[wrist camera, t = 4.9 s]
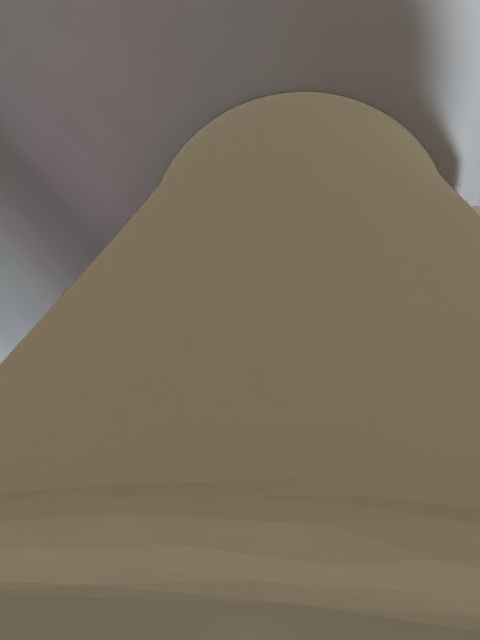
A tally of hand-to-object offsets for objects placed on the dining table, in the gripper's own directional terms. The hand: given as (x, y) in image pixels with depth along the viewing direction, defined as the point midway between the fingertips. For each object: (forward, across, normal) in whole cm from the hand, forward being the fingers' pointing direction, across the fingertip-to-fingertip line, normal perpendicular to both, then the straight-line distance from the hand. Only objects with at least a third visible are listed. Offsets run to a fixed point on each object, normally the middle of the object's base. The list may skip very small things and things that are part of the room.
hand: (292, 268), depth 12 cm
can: (+1, 0, 0) cm, 1 cm away
